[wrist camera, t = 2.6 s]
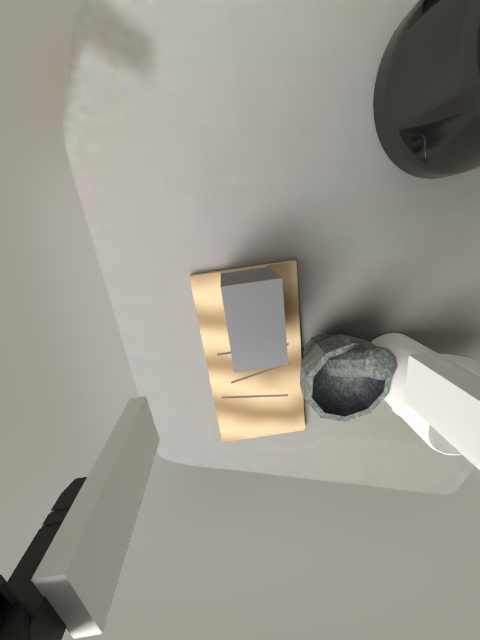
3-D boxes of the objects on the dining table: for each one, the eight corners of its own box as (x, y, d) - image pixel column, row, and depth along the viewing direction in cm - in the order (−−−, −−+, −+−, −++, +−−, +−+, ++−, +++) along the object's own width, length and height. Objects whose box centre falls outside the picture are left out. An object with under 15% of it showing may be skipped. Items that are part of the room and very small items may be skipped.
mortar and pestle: (354, 383, 35) (418, 455, 24) (288, 389, 34) (322, 466, 23) (363, 306, 31) (445, 349, 20) (290, 312, 31) (331, 359, 19)
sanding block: (220, 271, 27) (220, 286, 20) (265, 265, 27) (282, 278, 20) (231, 337, 30) (234, 372, 22) (271, 331, 30) (288, 364, 23)
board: (190, 274, 28) (189, 276, 27) (294, 260, 28) (296, 261, 27) (222, 437, 36) (222, 442, 35) (302, 424, 37) (305, 429, 36)
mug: (441, 372, 35) (544, 439, 24) (359, 390, 35) (424, 465, 24) (445, 319, 32) (565, 366, 21) (356, 339, 32) (428, 396, 21)
